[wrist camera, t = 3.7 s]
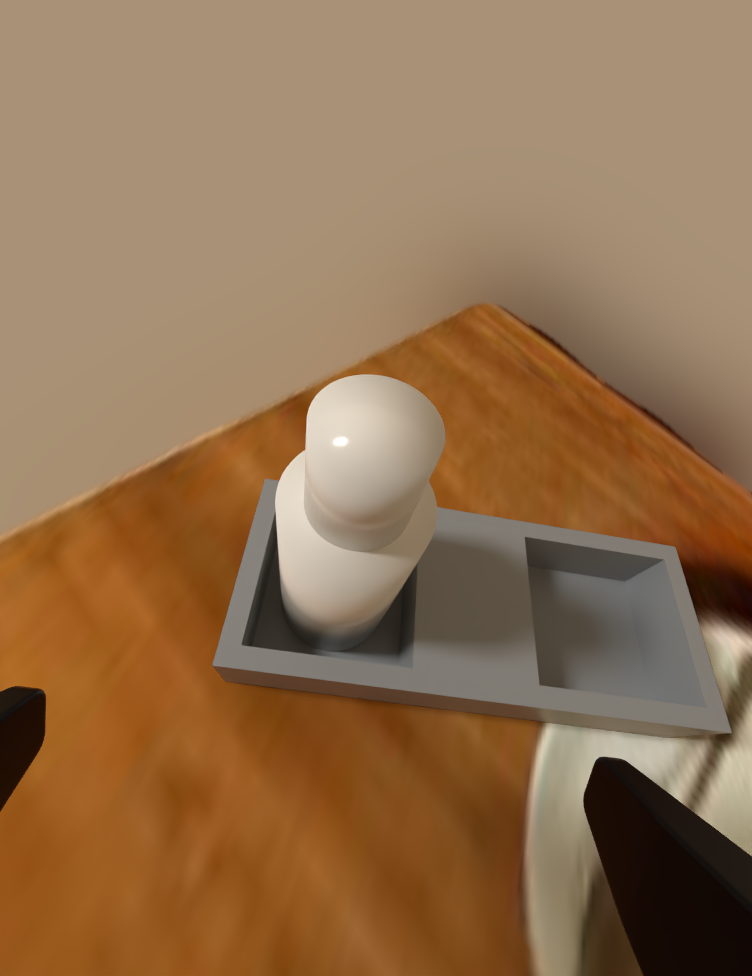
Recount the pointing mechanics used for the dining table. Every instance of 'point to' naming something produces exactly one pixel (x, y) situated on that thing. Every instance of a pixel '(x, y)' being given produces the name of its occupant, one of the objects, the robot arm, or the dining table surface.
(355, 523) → the white stepped cylinder
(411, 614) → the caddy
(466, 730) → the dining table surface
